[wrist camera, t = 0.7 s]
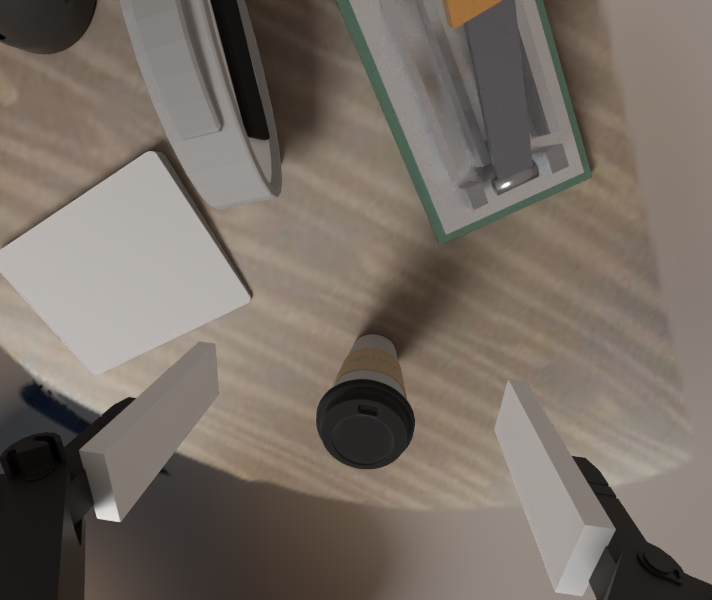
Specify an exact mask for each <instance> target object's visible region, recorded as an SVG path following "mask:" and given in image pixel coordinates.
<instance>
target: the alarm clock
mask: <svg viewBox="0 0 712 600" xmlns="http://www.w3.org/2000/svg"><path fill="white" fill-rule="evenodd" d="M120 5H121V9H122V13H123V16H124V19H125V23H126V26H127V29H128V33H129V36H130V39H131V42H132V46H133V49H134V52H135V55H136V59H137V62H138V64H139V67H140V70H141V72H142V75H143V78H144V80H145V83H146V86H147V89H148V91H149V94H150V97H151V99H152V102H153V105H154V107H155V109H156V112H157V114H158V116H159V119H160V121H161V123H162V125H163V128H164V130H165V132H166V135H167V137H168V139H169V141H170V144H171V146H172V147H173V149H174V151H175V153H176V155H177V157H178V159H179V161H180V163H181V165H182V167H183V168H184V170H185V172H186V174H187V176H188V177H189V179H190V180H191V182H192V183H193V185H194V186H195V188H196V189H197V191H198V192H199V194H200V195H201V196H202V197H203V198H204V199H205V200H206V201H207V202H208V204H209V205H210V206H211V207H214V208H217V209H225V208H230V207H235V206H240V205H245V204H250V203H255V202H260V201H265V200H270V199H275V198H277V197H278V195H279V194H280V193H281V184H282V173H281V165H282V164H281V158H280V151H279V144H278V136H277V131H276V126H275V120H274V115H273V109H272V104H271V100H270V95H269V91H268V86H267V82H266V77H265V73H264V69H263V65H262V61H261V57H260V53H259V49H258V45H257V41H256V38H255V34H254V31H253V27H252V24H251V20H250V17H249V13H248V10H247V6H246V3H245V0H120Z"/></svg>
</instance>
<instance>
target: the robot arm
mask: <svg viewBox="0 0 712 600" xmlns="http://www.w3.org/2000/svg"><path fill="white" fill-rule="evenodd" d="M94 5H95V0H0V42H2V43H4V44H7V45H9V46H12V47H15V48H19V49H22V50H25V51H28V52H32V53H37V54H53V53H57V52H60V51H63V50H65V49H67V48H69V47H70V46H72V45H73V44H74V43H75V42H76V41H77V40H78V39H79V38H80V37H81V36H82V34H83V33H84V32H85V30H86V28H87V26H88V24H89V22H90V19H91V17H92V14H93V10H94ZM218 395H219V386H218V373H217V360H216V347H215V344H214V343H206V342H198V343H197V344H196V345H195V346H194V347H193V348H192V349H190V350H189V351H188V352H187V353H186V354H185V355H184V356H183V357H182V358H180V359H179V360H178V361H177V362H176V363H175V364H174V365H173V366H172V367H171V368H169V369H168V370H167V371H166V372H165V373H164V374H163V375H162V376H161V377H159V378H158V379H157V380H156V381H155V382H154V383H153V384H152V385H151V386H149V387H148V388H147V389H146V390H145V391H144V392H143V393H142V394H141V395H140V396H138V397H137V398H131V397H128V398H126V399H124V400H122V401H120V402H118V403H117V404H115V405H113V406H112V407H111V408H110V409H108V410H107V411H106V412H105V413H104V414H102V417H99V418H98V419H97V420H95V421H94V422H93V424H92V425H90V426H88V427H87V428H86V429H85V430H84V431H83V432H81V433H80V434H79V435H78V436H77V437H76V438H74V439H73V440H72V441H71V442H70V443H69V444H67V445H66V446H65V447H63V444H62V440H61V437H60V435H57V434H55V433H46V432H45V433H40V434H34V435H31V436H29V437H26V438H23V439H21V440H19V441H17V442H16V443H14V444H12V445H11V446H9V447H8V448H7V449H6V450H5V451H4V452H3V453H2V455H1V456H0V462H1V464H2V467H3V470H4V472H5V474H0V600H84V583H85V528H86V525H85V524H86V523H85V520H84V515H85V514H86V513H87V512H88V511H89V510H90V508H91V507H92V506H93V505H94V509H95V512H96V516H97V518H98V519H104V520H110V521H116V522H121V520H122V519H123V518H124V517H125V516H126V514H127V513H128V512H129V510H130V509H131V508H132V506H133V505H134V504H135V502H136V501H137V500H138V499H139V497H140V496H141V495H142V493H143V492H144V491H145V489H146V488H147V487H148V486H149V484H150V483H151V482H152V480H153V479H154V478H155V476H156V475H157V474H158V473H159V471H160V470H161V469H162V467H163V466H164V465H165V463H166V462H167V461H168V460H169V458H170V457H171V456H172V454H173V453H174V452H175V450H176V449H177V448H178V447H179V445H180V444H181V443H182V441H183V440H184V439H185V437H186V436H187V435H188V434H189V432H190V431H191V430H192V428H193V427H194V426H195V424H196V423H197V422H198V421H199V419H200V418H201V417H202V415H203V414H204V413H205V411H206V410H207V409H208V408H209V406H210V405H211V404H212V402H213V401H214V400H215V398H216V397H217V396H218ZM494 431H495V433H496V436H497V439H498V441H499V444H500V447H501V450H502V452H503V455H504V458H505V460H506V463H507V466H508V468H509V471H510V474H511V476H512V479H513V482H514V484H515V487H516V490H517V492H518V495H519V498H520V500H521V503H522V506H523V508H524V511H525V514H526V516H527V519H528V522H529V524H530V527H531V530H532V532H533V535H534V538H535V540H536V543H537V546H538V549H539V551H540V554H541V556H542V559H543V562H544V565H545V567H546V570H547V573H548V575H549V578H550V580H551V583H552V586H553V589H554V591H555V592H558V593H564V594H570V595H577V596H583V594H584V592H585V590H586V588H587V586H588V584H589V583H590V585H591V587H592V590H593V592H594V594H595V596H596V598H597V599H596V600H712V585H711V584H709V583H706V582H704V581H702V580H699V579H697V578H694V577H692V576H689V575H688V574H686V573H684V572H683V570H682V568H681V567H680V566H679V565H678V564H677V562H676V561H675V560H674V559H673V558H672V557H671V556H669V555H668V554H667V553H665V552H664V551H663V550H661V549H660V548H658V547H656V546H654V545H652V544H650V543H648V542H647V541H646V540H645V538H644V537H643V535H642V534H641V532H640V531H639V529H638V528H637V526H636V525H635V523H634V522H633V520H632V519H631V517H630V516H629V514H628V513H627V511H626V510H625V508H624V507H623V505H622V504H621V502H620V501H619V499H616V495H615V493H614V492H613V490H612V489H611V487H609V486H608V485H609V484H608V483H607V481H606V480H605V478H604V477H603V475H602V474H601V472H600V471H599V470H598V469H597V468H596V467H595V466H594V465H593V464H591V463H590V462H589V461H588V460H587V459H586V458H583V457H575V456H571V454H570V453H569V451H568V449H567V448H566V446H565V445H564V443H563V441H562V440H561V438H560V436H559V435H558V433H557V431H556V430H555V428H554V426H553V425H552V423H551V421H550V420H549V418H548V416H547V415H546V413H545V411H544V410H543V408H542V407H541V405H540V403H539V402H538V400H537V398H536V397H535V395H534V393H533V392H532V390H531V388H530V387H529V385H528V383H527V382H526V381H518V380H510V379H508V382H507V386H506V389H505V393H504V396H503V400H502V404H501V407H500V411H499V415H498V418H497V422H496V425H495V429H494Z"/></svg>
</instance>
